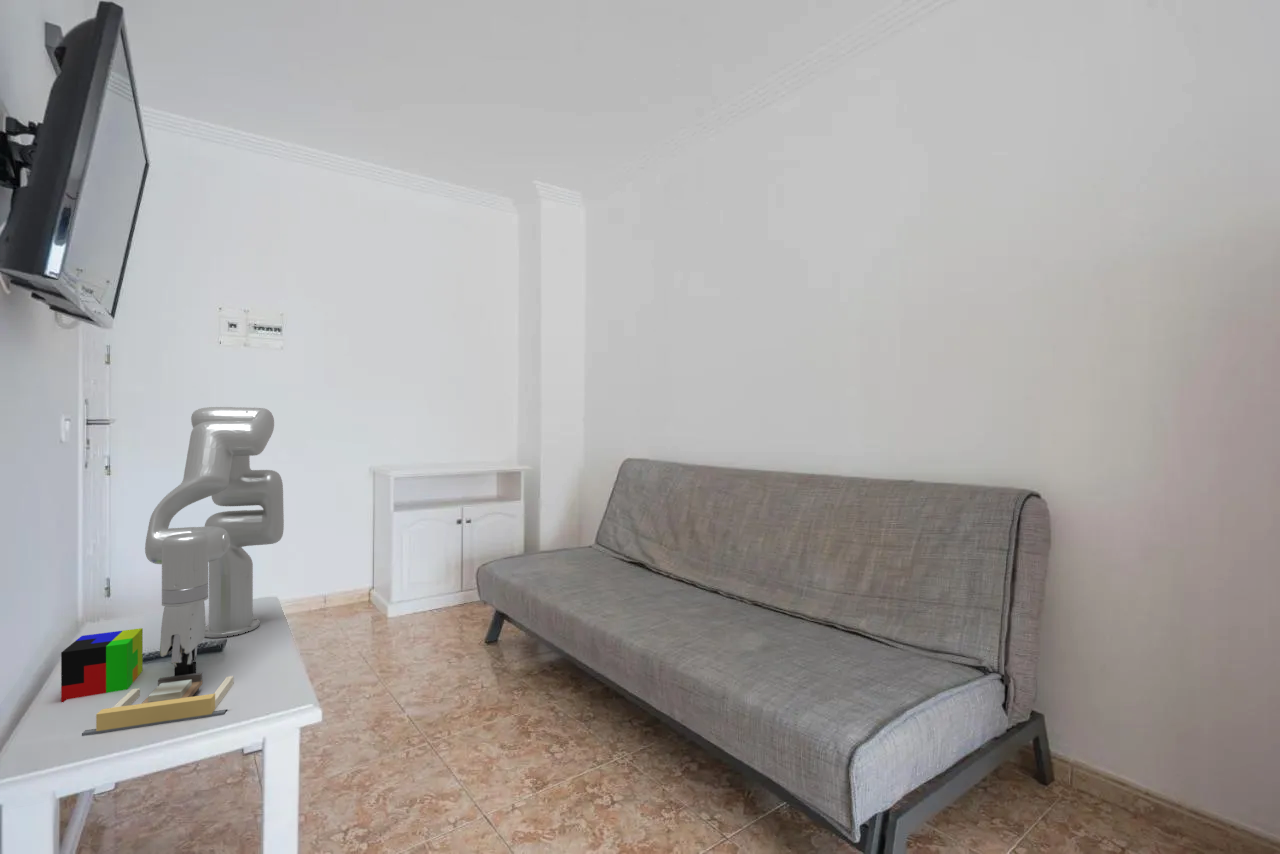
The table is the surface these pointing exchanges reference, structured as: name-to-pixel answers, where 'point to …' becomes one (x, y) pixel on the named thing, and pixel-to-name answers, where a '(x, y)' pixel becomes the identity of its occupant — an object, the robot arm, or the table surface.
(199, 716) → the mat
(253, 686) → the table surface
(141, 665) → the puzzle toy
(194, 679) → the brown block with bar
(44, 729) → the table surface
